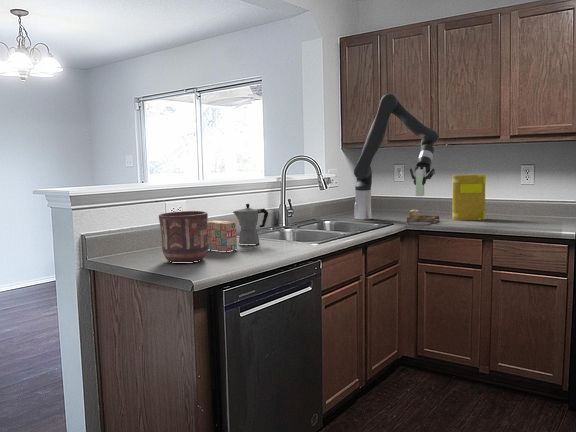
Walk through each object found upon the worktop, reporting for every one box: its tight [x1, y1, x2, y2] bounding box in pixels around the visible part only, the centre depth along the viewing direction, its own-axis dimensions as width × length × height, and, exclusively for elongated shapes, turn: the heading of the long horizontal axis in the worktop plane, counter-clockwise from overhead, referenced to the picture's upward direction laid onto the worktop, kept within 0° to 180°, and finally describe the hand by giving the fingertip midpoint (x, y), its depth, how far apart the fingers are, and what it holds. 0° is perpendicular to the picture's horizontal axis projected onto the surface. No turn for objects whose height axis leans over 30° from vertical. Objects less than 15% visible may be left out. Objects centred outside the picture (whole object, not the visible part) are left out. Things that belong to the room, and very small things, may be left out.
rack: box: [406, 214, 440, 225], centre depth 286 cm, size 15×12×3 cm
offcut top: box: [408, 209, 420, 217], centre depth 288 cm, size 4×8×2 cm, turn 155°
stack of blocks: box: [207, 219, 238, 252], centre depth 215 cm, size 21×6×12 cm, turn 54°
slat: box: [415, 169, 425, 197], centre depth 274 cm, size 4×4×14 cm
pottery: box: [158, 210, 209, 262], centre depth 192 cm, size 18×18×18 cm
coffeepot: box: [232, 203, 269, 244], centre depth 226 cm, size 15×9×18 cm, turn 92°
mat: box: [408, 222, 432, 226], centre depth 277 cm, size 10×8×1 cm
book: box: [451, 174, 487, 221], centre depth 290 cm, size 17×7×25 cm, turn 84°
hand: (419, 183), depth 273 cm, fingers closed on slat, 3 cm apart
